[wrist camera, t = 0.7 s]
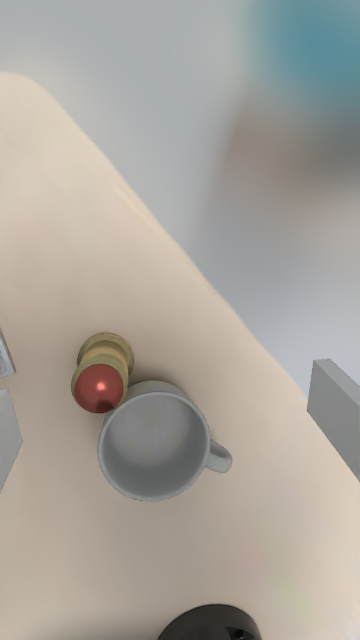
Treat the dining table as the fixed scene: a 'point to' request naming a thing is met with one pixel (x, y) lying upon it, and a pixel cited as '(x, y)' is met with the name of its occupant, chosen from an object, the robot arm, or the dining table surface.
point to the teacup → (157, 443)
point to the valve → (102, 373)
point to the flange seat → (5, 359)
